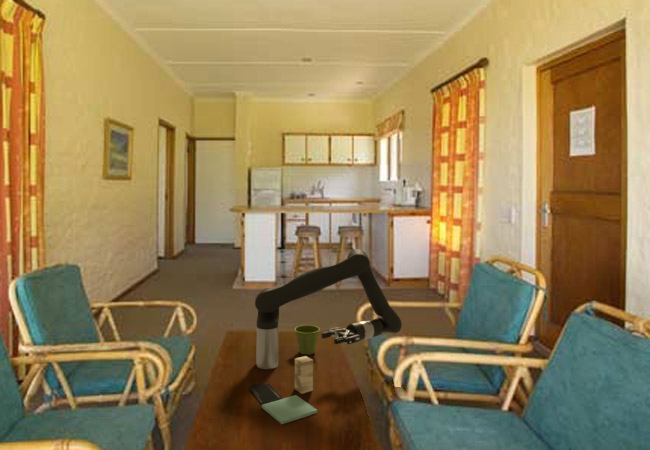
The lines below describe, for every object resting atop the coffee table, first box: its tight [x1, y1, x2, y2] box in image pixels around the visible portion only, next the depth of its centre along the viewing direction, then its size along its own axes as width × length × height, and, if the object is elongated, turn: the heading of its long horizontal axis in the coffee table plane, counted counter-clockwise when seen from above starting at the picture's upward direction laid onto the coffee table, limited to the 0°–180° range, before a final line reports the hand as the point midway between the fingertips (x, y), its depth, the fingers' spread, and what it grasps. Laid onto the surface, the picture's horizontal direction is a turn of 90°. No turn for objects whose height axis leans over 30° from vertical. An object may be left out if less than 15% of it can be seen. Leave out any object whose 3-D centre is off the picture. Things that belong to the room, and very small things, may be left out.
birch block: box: [294, 355, 314, 395], centre depth 179 cm, size 5×5×12 cm
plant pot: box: [294, 324, 321, 356], centre depth 219 cm, size 12×12×11 cm
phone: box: [248, 382, 282, 405], centre depth 176 cm, size 8×1×15 cm
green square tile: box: [261, 394, 318, 425], centre depth 163 cm, size 14×14×1 cm
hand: (328, 338), depth 185 cm, fingers open, 8 cm apart
